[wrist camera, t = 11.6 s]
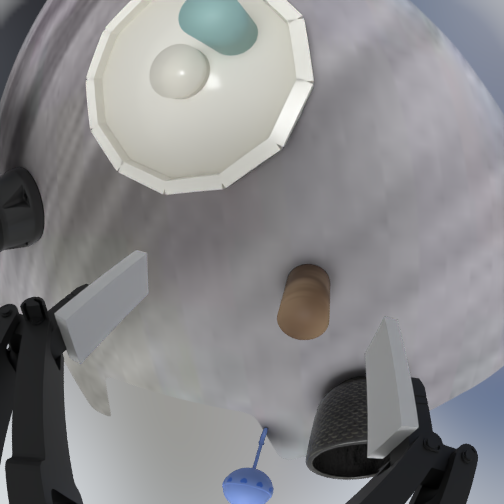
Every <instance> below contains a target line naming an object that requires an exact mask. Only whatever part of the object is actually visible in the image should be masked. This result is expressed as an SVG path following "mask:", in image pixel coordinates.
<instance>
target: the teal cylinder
mask: <svg viewBox="0 0 504 504" xmlns="http://www.w3.org/2000/svg"><path fill="white" fill-rule="evenodd" d="M178 20H179V25H180V27H181V29H182V30H183V31H184V32H185V33H187V34H188V35H190V36H192V37H193V38H195V39H197V40H199V41H200V42H202V43H204V44H205V45H207V46H209V47H210V48H212V49H214V50H215V51H217V52H219V53H220V54H223V55H228V56H233V55H239V54H241V53H244V52H246V51H247V50H249V49H250V48H251V47H252V46H253V45H254V43H255V41H256V39H257V36H258V29H257V26H256V24H255V22H254V21H253V20H252V18H251V17H250V16H249V14H248V13H247V12H246V11H245V9H244V8H243V7H242V6H241V4H240V3H239V2H238V1H237V0H186V1H185V3H184V4H183V5H182V7H181V9H180V12H179V17H178Z"/></svg>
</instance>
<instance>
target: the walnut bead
mask: <svg viewBox="0 0 504 504" xmlns="http://www.w3.org/2000/svg"><path fill="white" fill-rule="evenodd" d="M329 312H330V280H329V276H328V275H327V273H326V272H325V271H324V270H323V269H322V268H320V267H318V266H316V265H312V264H304V265H300V266H298V267H296V268H294V269H293V270H292V271H291V272H290V274H289V276H288V279H287V282H286V286H285V290H284V293H283V297H282V301H281V304H280V308H279V311H278V315H277V321H278V325H279V327H280V328H281V330H282V331H283V332H284V333H285V334H287V335H288V336H290V337H292V338H295V339H299V340H310V339H314V338H316V337H319V336H320V335H322V334H323V333H324V332H325V331H326V329H327V327H328V325H329Z"/></svg>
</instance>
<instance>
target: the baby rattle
mask: <svg viewBox="0 0 504 504" xmlns="http://www.w3.org/2000/svg"><path fill="white" fill-rule="evenodd" d="M267 430H268V429H267V428H264V430H263V432H262V434H261V437H260V441H259V448H258V451H257V455H256V458H255V462H254V465H253V468H241V469H238V470H235V471H233V472H232V473H231V474H229V476H227V477H226V478H225V480H224V482H223V486H222V487H223V492H224V495H225V497H226V499H227V500H228V501H229V502H230V503H231V504H265V503H266V502H267V501H268V500H269V499H270V498H271V497H272V494H273V486H272V482H271V480H270V479H269V477H268V476H267V475H266V474H265V473H264V472H262V471H260V470H258V469H256V466H257V462H258V459H259V455H260V452H261V448H262V445H264V440H265V437H266V434H267Z"/></svg>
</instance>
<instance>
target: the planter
mask: <svg viewBox="0 0 504 504" xmlns="http://www.w3.org/2000/svg"><path fill="white" fill-rule="evenodd" d="M367 449H368V406H367V379H366V377H356V378H352V379H349V380H347V381H345V382H343V383H341V384H340V385H339V386H337V387H335V388H334V389H332V390H331V391H330V392H329V393H328V394H327V395H326V396H325V397H324V398H323V400H322V401H321V403H320V405H319V407H318V409H317V412H316V415H315V418H314V422H313V427H312V431H311V436H310V440H309V445H308V450H307V455H306V465H307V467H308V468H309V469H310V470H311V471H312V472H314V473H316V474H318V475H321V476H324V477H327V478H333V479H345V480H348V479H362V478H369V477H374V476H375V475H376V474H377V473H378V472H379V470H378V469H379V468H381V467H382V466H383V465H385V464H386V463H387V462H389V461H390V453H389V454H388V455H387V456H386V457H384V458H383V459H380V458H367Z"/></svg>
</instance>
